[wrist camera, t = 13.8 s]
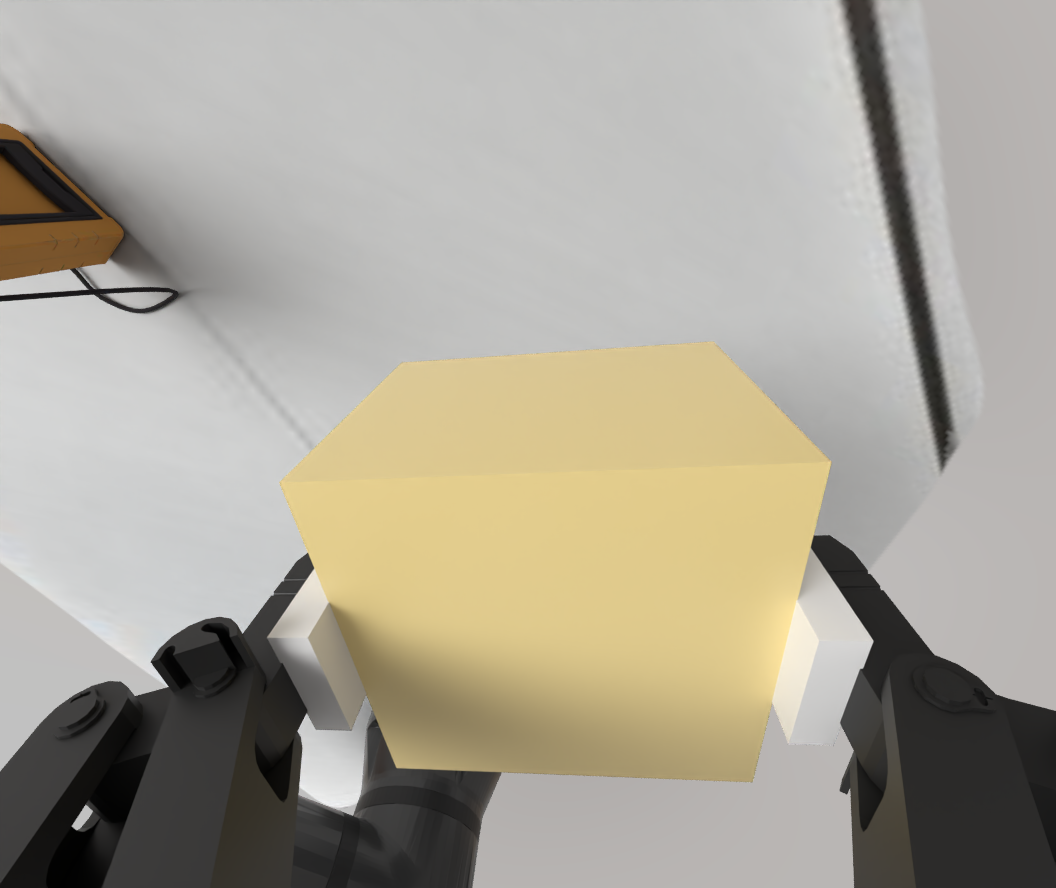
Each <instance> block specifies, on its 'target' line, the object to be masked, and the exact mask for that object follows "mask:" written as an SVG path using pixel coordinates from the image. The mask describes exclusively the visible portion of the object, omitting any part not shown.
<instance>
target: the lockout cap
mask: <svg viewBox="0 0 1056 888" xmlns="http://www.w3.org/2000/svg"><path fill="white" fill-rule="evenodd" d="M831 463H832V462H831V461H830V460H829V459H828V458H827V457H826V456H825V455H824V454H823V453H822V452H821V451H820V450H819V449H818V448H817V447H816V446H815V445H814V444H813V443H812V442H811V440H810V439H809V438H808V437H807V436H806V435H805V434H804V433H803V432H802V431H801V430H800V429H799V428H798V427H797V426H796V425H795V424H794V423H793V422H792V421H791V420H790V419H789V418H788V417H787V416H786V415H785V414H784V413H783V412H782V411H781V410H780V409H779V408H778V407H777V406H776V405H775V404H774V403H773V402H772V401H771V400H770V399H769V398H768V397H767V396H766V395H765V394H764V393H763V391H762V390H761V389H760V388H759V387H758V386H757V385H756V384H755V383H754V382H753V381H752V380H751V379H750V378H749V377H748V376H747V375H746V374H745V373H744V372H743V371H742V370H741V369H740V368H739V367H738V366H737V365H736V364H735V363H734V362H733V361H732V360H731V359H730V358H729V357H728V356H727V355H726V354H725V353H724V352H723V351H722V350H721V349H720V348H719V347H718V346H717V345H716V344H715V343H714V342H699V343H684V344H670V345H655V346H640V347H625V348H611V349H596V350H581V351H566V352H551V353H537V354H522V355H507V356H492V357H477V358H463V359H448V360H433V361H418V362H404V363H401V364H400V365H399V366H398V367H397V368H396V369H395V370H394V371H393V372H391V373H390V374H389V375H388V376H387V377H386V378H385V379H384V380H383V381H382V382H381V383H380V384H379V385H378V386H377V387H376V388H375V389H374V390H373V391H372V392H371V393H370V394H369V395H368V396H367V397H366V398H365V399H364V400H363V401H362V402H361V403H360V404H359V405H358V406H357V407H356V408H355V409H354V410H353V411H352V412H351V413H350V414H349V415H348V416H347V417H346V418H345V419H344V420H343V421H341V422H340V423H339V424H338V425H337V426H336V427H335V428H334V429H333V430H332V431H331V432H330V433H329V434H328V435H327V436H326V437H325V438H324V439H323V440H322V441H321V442H320V443H319V444H318V445H317V446H316V447H315V448H314V449H313V450H312V451H311V452H310V453H309V454H308V455H307V456H306V457H305V458H304V459H303V460H302V461H301V462H300V463H299V464H298V465H297V466H296V467H295V468H294V469H293V470H291V471H290V472H289V473H288V474H287V475H286V476H285V477H284V478H283V479H282V480H281V481H280V482H279V483H280V486H281V488H282V491H283V493H284V495H285V498H286V500H287V503H288V505H289V508H290V510H291V513H292V515H293V517H294V520H295V522H296V525H297V527H298V530H299V532H300V534H301V537H302V539H303V542H304V544H305V547H306V549H307V551H308V554H309V556H310V559H311V561H312V564H313V566H314V568H315V571H316V573H317V576H318V578H319V581H320V583H321V586H322V588H323V590H324V593H325V595H326V598H327V600H328V602H329V604H330V606H331V609H332V611H333V613H334V616H335V618H336V621H337V623H338V626H339V628H340V630H341V633H342V635H343V638H344V640H345V643H346V645H347V647H348V650H349V652H350V655H351V657H352V660H353V662H354V665H355V667H356V669H357V672H358V674H359V677H360V679H361V682H362V684H363V686H364V689H365V691H366V695H367V697H368V700H369V702H370V705H371V707H372V710H373V712H374V715H375V717H376V719H377V722H378V724H379V727H380V729H381V732H382V734H383V736H384V739H385V741H386V744H387V746H388V749H389V751H390V753H391V756H392V758H393V761H394V763H395V766H396V768H408V769H433V770H458V771H483V772H508V773H533V774H558V775H583V776H585V775H586V776H608V777H635V778H659V779H683V780H684V779H685V780H709V781H734V782H753V779H754V775H755V771H756V766H757V762H758V758H759V754H760V750H761V746H762V742H763V738H764V734H765V730H766V726H767V722H768V718H769V714H770V710H771V706H772V699H773V695H774V691H775V687H776V683H777V679H778V674H779V670H780V666H781V662H782V658H783V654H784V650H785V646H786V642H787V638H788V634H789V629H790V625H791V621H792V617H793V613H794V609H795V605H796V601H797V600H798V596H799V592H800V588H801V584H802V580H803V576H804V572H805V568H806V564H807V560H808V556H809V552H810V548H811V544H812V540H813V536H814V532H815V528H816V523H817V519H818V515H819V511H820V507H821V503H822V499H823V495H824V491H825V487H826V483H827V479H828V475H829V471H830V467H831Z"/></svg>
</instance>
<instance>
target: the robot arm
mask: <svg viewBox="0 0 1056 888" xmlns="http://www.w3.org/2000/svg"><path fill="white" fill-rule="evenodd" d="M151 663H152V664H153V666H154V667H155V669H156V670H157V671H158V673H159V674H160V675H161V677H162V678H163V679H164V681H165V682H166V684H167V685H168V686H169V687H167V688H164V689H160V690H156V691H153V692H149V693H145V694H142V695H138V696H134V694H133V693H132V692H131V691H130V690H129V688H128V687H127V686H126V685H124V684H123V683H122V682H114V681H108V682H104V683H101V684H98V685H94V686H91V687H89V688H87V689H85V690H83V691H81V692H79V693H77V694H75V695H74V696H72V697H71V698H69V699H68V700H67V701H65V702H64V703H62V704H61V705H60V706H59V707H57V708H56V709H55V710H54V711H53V712H52V713H50V714H49V715H48V716H47V718H45V719H44V720H43V722H41V724H40V725H39V726H38V727H37V728H36V729H35V731H34V732H33V733H32V734H31V735H30V737H29V738H28V739H27V740H26V741H25V743H24V744H23V745H22V746H21V747H20V749H19V750H18V751H17V752H16V753H15V755H14V756H13V757H12V758H11V759H10V761H9V762H8V763H7V764H6V766H4V768H3V769H2V770H1V771H0V888H472V886H473V879H474V872H475V865H476V857H477V850H478V842H479V835H480V829H481V823H482V818H483V815H484V812H485V810H486V808H487V805H488V803H489V801H490V798H491V796H492V794H493V791H494V789H495V787H496V784H497V782H498V780H499V777H500V775H501V772H483V771H458V770H433V769H408V768H396V766H395V763H394V761H393V758H392V756H391V753H390V751H389V749H388V746H387V744H386V741H385V739H384V736H383V734H382V732H381V729H380V727H379V724H378V722H377V719H376V717H375V715H374V712H373V711H372V713H371V716H370V719H369V721H368V724H367V729H366V739H365V752H364V766H363V779H362V790H361V795H360V798H359V801H358V803H357V806H356V809H355V812H354V815H353V816H352V815H349V814H347V813H344V812H342V811H339V810H336V809H333V808H331V807H328V806H325V805H323V804H320V803H317V802H315V801H312V800H309V799H307V798H305V797H302V796H299V795H298V793H299V781H300V769H301V758H302V742H301V737H300V735H299V733H298V732H297V731H298V729H299V727H300V725H301V723H302V721H303V719H304V717H305V715H306V713H307V714H308V716H309V718H310V720H311V722H312V723H313V725H314V727H315V729H316V730H347V731H351V730H352V728H353V725H354V723H355V720H356V718H357V716H358V713H359V711H360V708H361V706H362V703H363V701H364V698H365V696H366V691H365V689H364V686H363V684H362V682H361V679H360V677H359V674H358V672H357V669H356V667H355V665H354V662H353V660H352V657H351V655H350V652H349V650H348V647H347V645H346V643H345V640H344V638H343V635H342V633H341V630H340V628H339V626H338V623H337V621H336V618H335V616H334V613H333V611H332V609H331V606H330V604H329V602H328V600H327V598H326V595H325V593H324V590H323V588H322V586H321V583H320V581H319V578H318V576H317V573H316V571H315V568H314V566H313V564H312V561H311V559H310V556H309V554H308V553H307V554H306V555H304V556H303V557H302V558H301V559H299V560H298V561H297V562H296V563H295V565H294V566H293V567H292V569H291V570H290V571H289V573H288V574H287V575H286V577H285V578H284V582H281V583H280V585H279V586H278V587H277V589H276V590H275V591H274V595H273V596H271V597H270V598H269V599H268V601H267V602H266V603H265V605H264V606H263V607H262V609H261V610H260V611H259V613H258V614H257V615H256V617H255V618H254V619H253V621H252V622H251V624H250V625H249V626H248V628H247V629H246V630H245V632H244V633H243V634H242V632H241V631H240V629H239V627H238V625H237V624H236V623H235V622H234V621H233V620H232V619H230V618H224V617H216V618H211V619H205V620H203V621H200V622H198V623H195V624H193V625H190V626H188V627H187V628H185V629H184V630H182V631H180V632H179V633H177V634H176V635H174V636H173V637H171V638H170V639H169V640H168V641H167V642H166V643H165V644H164V645H163V646H162V647H161V648H160V649H159V650H158V651H157V653H156V655H155V656H154V658H153V659H152V661H151ZM772 703H773V706H774V708H775V711H776V713H777V716H778V718H779V721H780V724H781V726H782V729H783V731H784V733H785V736H786V739H787V741H788V744H804V745H834V744H835V741H836V739H837V736H838V734H839V731H840V728H841V726H842V728H843V730H844V732H845V734H846V736H847V737H848V740H849V742H850V744H851V746H852V748H853V750H854V752H853V755H852V757H851V759H850V762H849V764H848V767H847V769H846V771H845V774H844V776H843V779H842V783H841V787H840V791H841V792H843V793H845V794H847V793H848V791H849V789H850V791H851V816H852V841H853V866H854V888H1056V711H1054V710H1049V709H1046V708H1042V707H1038V706H1035V705H1031V704H1027V703H1023V702H1019V701H1015V700H1011V699H1008V698H1005V697H1002V696H999V695H996V694H995V693H994V692H993V691H992V690H991V689H990V688H989V687H988V686H987V685H986V684H985V683H984V682H982V680H980V679H979V678H978V677H977V676H975V675H974V674H972V673H971V672H969V671H967V670H966V669H964V668H963V667H961V666H959V665H958V664H956V663H953V662H951V661H948V660H946V659H943V658H941V657H938V656H935V655H934V654H933V653H932V652H931V650H930V649H929V648H928V647H927V645H926V644H925V643H924V641H923V640H922V639H921V638H920V636H919V635H918V634H917V633H916V631H915V630H914V629H913V627H912V626H911V625H910V624H909V622H908V621H907V620H906V619H905V617H904V616H903V615H902V614H901V612H900V611H899V610H898V608H897V607H896V606H895V605H894V603H893V602H892V601H891V599H890V598H889V597H888V596H887V594H886V593H885V592H884V591H883V590H881V589H880V585H879V584H878V583H877V582H876V580H875V579H874V578H873V577H872V575H871V574H868V570H867V569H866V568H865V566H864V565H863V564H862V563H861V561H860V560H859V559H858V557H857V556H856V555H855V554H854V552H853V551H852V550H850V549H849V548H847V547H846V546H844V545H843V544H841V543H840V542H839V541H837V540H836V539H834V538H833V537H831V536H830V535H823V536H813V540H812V544H811V548H810V552H809V556H808V560H807V564H806V568H805V572H804V576H803V580H802V584H801V588H800V592H799V596H798V600H797V601H796V605H795V609H794V613H793V617H792V621H791V625H790V629H789V634H788V638H787V642H786V646H785V650H784V654H783V658H782V662H781V666H780V670H779V674H778V679H777V683H776V687H775V691H774V695H773V699H772ZM85 805H87V806H88V807H89V808H90V809H92V810H93V813H92V814H91V816H90V818H89V819H88V820H87V821H86V823H85V824H84V825H83V826H82V827H81V828H80V829H79V830H75V829H74V828H73V827H72V825H73V823H74V822H75V820H76V818H77V817H78V815H79V814H80V812H81V811H82V809H83V808H84V806H85Z"/></svg>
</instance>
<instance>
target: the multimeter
mask: <svg viewBox="0 0 1056 888" xmlns="http://www.w3.org/2000/svg"><path fill="white" fill-rule="evenodd" d="M123 235H124V232H123V230H122V228H121V227H120V226H119V225H118V224H117V223H116V222H115V221H114V220H113V219H112V218H111V217H108V216H107V215H106V214H105V213H104V212H103V211H102V210H101V209H99V208H98V207H97V206H96V205H95V204H94V203H93V202H92V201H91V200H90V199H89V198H88V197H87V196H86V195H85V194H84V193H82V192H81V191H80V190H79V189H78V188H77V187H76V186H75V185H74V184H73V183H72V182H71V181H70V180H69V179H68V178H66V177H65V176H64V175H63V174H62V173H61V172H60V171H59V170H58V169H57V168H56V167H55V166H54V165H53V164H52V163H51V162H49V161H48V160H47V159H46V158H45V157H44V156H43V155H42V154H41V153H40V152H39V151H38V150H37V149H36V148H35V145H34V144H33V143H32V142H31V141H30V140H28V139H27V138H26V137H25V136H24V135H23V134H21V133H20V132H19V131H18V130H16V129H14V128H13V127H11V126H9V125H6V124H0V281H2V280H8V279H14V278H20V277H26V276H32V275H38V274H43V273H49V272H55V271H60V270H67V269H70V270H71V271H72V272H73V273H74V274H75V275H76V276H77V277H78V278H79V280H80V281H81V282H82V283H83V284H84V285H85V286H86V288H87V289H89V290H78V291H64V292H49V293H34V294H19V295H4V296H0V301H13V300H26V299H39V298H53V297H66V296H80V295H93V294H94V295H95V296H97V297H98V298H99V299H101V300H103V301H105V302H106V303H108V304H110V305H113V306H115V307H117V308H119V309H122V310H125V311H129V312H133V313H145V312H149V311H153V310H156V309H158V308H161V307H162V306H164V305H166V304H168V303H169V302H171V301H172V300H174V299H175V298H177V296H178V294H179V293H178V291H175V290H172V289H170V288H158V287H136V288H113V289H94V288H93V287H91V286H90V284H89V283H88V282H87V281H86V280H85V279H84V277H83V276H82V275H81V274H80V273H79V272H78V271H77V270H76V269H75V268H79V267H85V266H91V265H96V264H105V263H106V262H107V261H108V259H109V258H110V256H111V255H112V253H113V252H114V250H115V249H116V247H117V246H118V244H119V243H120V241H121V240H122V238H123ZM127 292H170V293H173V294H172V296H170V297H169V298H167V299H166V300H164V301H163V302H161V303H159V304H157V305H155V306H152V307H150V308H146V309H133V308H128V307H125V306H123V305H120V304H118V303H115V302H113V301H111V300H109V299H107V298H105V297H104V296H102V295H101V294H109V293H127Z"/></svg>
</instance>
